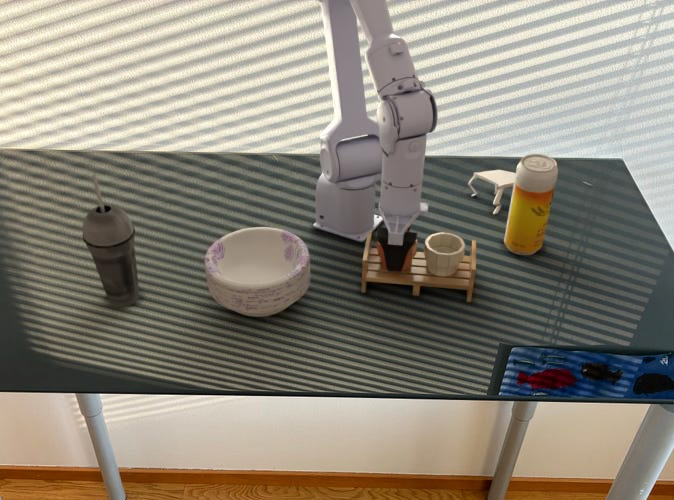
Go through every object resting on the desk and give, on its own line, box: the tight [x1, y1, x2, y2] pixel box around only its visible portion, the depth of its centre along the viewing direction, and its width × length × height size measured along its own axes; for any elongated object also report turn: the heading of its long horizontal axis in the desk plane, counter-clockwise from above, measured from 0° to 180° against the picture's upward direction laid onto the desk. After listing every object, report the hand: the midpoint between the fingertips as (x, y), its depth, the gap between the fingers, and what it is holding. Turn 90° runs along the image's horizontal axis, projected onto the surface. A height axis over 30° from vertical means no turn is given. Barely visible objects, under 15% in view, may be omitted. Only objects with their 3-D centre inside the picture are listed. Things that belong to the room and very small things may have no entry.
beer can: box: [503, 153, 559, 256], centre depth 119 cm, size 6×6×15 cm
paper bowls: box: [203, 226, 311, 318], centre depth 112 cm, size 15×15×8 cm
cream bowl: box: [423, 231, 466, 277], centre depth 113 cm, size 6×6×4 cm
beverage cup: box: [82, 174, 140, 308], centre depth 108 cm, size 7×7×20 cm
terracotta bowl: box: [376, 230, 418, 272], centre depth 114 cm, size 6×6×4 cm
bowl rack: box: [360, 232, 477, 303], centre depth 115 cm, size 8×16×6 cm, turn 81°
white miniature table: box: [467, 169, 516, 215], centre depth 132 cm, size 12×8×5 cm
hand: (396, 257), depth 115 cm, fingers closed on terracotta bowl, 5 cm apart
